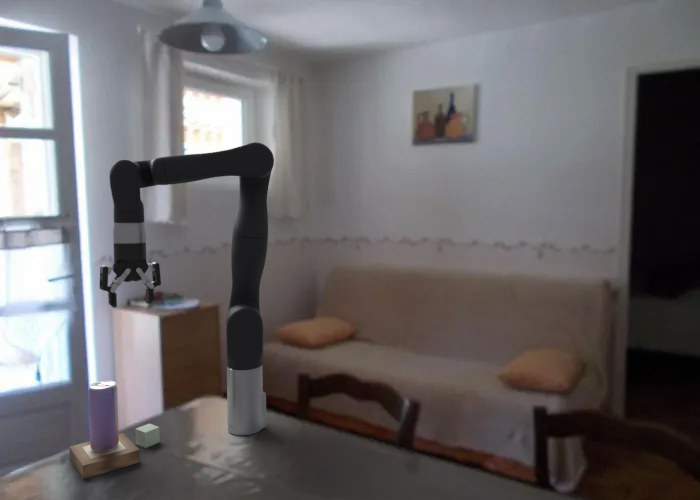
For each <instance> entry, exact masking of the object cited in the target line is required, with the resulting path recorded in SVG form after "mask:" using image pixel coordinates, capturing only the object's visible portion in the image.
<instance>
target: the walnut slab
mask: <svg viewBox="0 0 700 500" xmlns="http://www.w3.org/2000/svg"><path fill="white" fill-rule="evenodd" d="M118 436H119V443H118V445H117V447H116V448H115V449H113V450H111V451H107V452H94V451H93V450H92V449H91V447H90V440H89V441H86V442H82V443H79V444H75V445H70V446H69V449H68V450H69V451H68V452H69V460H70V462H71V463H72V464H73V466H74V467H75V469H76V470H77V472H78V474H79V475H80V476H81V478H82V479H83V480H85V479H86V480H87V479H89V478H92V477H95V476H99V475H102V474H105V473H108V472H112V471H115V470H118V469H119V470H120V469H122V468H126V467H129V466H132V465H135V464H138V463H140V462H141V455H140V454H141V453H140V449H139V448H138V446H136V444H134V443H133V442H132V440H131V439H129V437H127V435H126V434H125V433H123V432H121V433H120V432H119V433H118Z"/></svg>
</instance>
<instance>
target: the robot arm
mask: <svg viewBox="0 0 700 500" xmlns="http://www.w3.org/2000/svg"><path fill="white" fill-rule="evenodd" d="M274 164H275V158H274V153H273V151H271V149H270V148H269V147H268V146H267V145H266V144H264V143H261V142H254V141H253V142H250V143H246V144H244V145H240V146H237V147H233V148H230V149H229V148H228V149H226V150H220V151H213V152H212V151H211V152H204V153H203V152H202V153H190V154H188V153H187V154H178V155H176V154H175V155H168V156H166V155H165V156H160V157H159V156H158V157H155V158H153V159H150V160H149V159H148V160H137V161H136V160H134V161H133V160H130V159H124V158H123V159H119V160H117V161H115V162H114V163H113V164H111V167H110V170H109V186H110V191H111V197H112V202H113V228H112V229H113V230H112V231H113V233H112V234H113V235H112V237H113V238H112V241H113V265H101V266H100V267H99V289H100V290H101V291H104V292H107V294H108V295H107V296H108V297H107V298H108V305H110V306H111V308H113V309H114V308H117V307H118V305H117V304H118V301H117V300H118V299H117V297H118V295H117V292H116V291H117V290H118V288H119V287H120V286H121V285H122V284H123V282H125V283H131V282H132V281H133V282H139V281H140V282H142V284H143V285H144V286H145V302H146V304H148V305H149V304H152V303H153V301H154V298H155V297H154V294H155V293H154V292H155V291H154V290H155V288H156V287H159V286H161V284H162V280H161V279H162V277H161V269H160V267H161V265H160V263H159V262H155V261H153V262H151V263H148V262H147V231H146V225H145V208H144V207H145V206H144V202H143V201H142V199H141V189H144V188H150V187H151V188H152V187H156V186H170V185H179V184H185V183H186V184H187V183H194V182H197V181H202V180H207V179H212V178H213V179H214V178H219V177H220V178H222V177H239V178H238V179H239V182H238V183H239V188H238V189H239V195H238V202H237V207H236V210H235V216H234V220H233V227H232V234H231V235H232V236H231V248H230V249H231V250H230V254H231V255H230V258H231V261H230V266H231V282H232V283H231V291H230V299H229V304H228V309H227V313H226V319H225V325H226V330H225V331H226V332H225V333H226V389H227V391H226V397H227V398H226V399H227V401H226V402H227V405H226V406H227V431H228V433H230V434H231V435H235V436H250V435H253V434H257V433H259V432H261V430H263V429H264V428H266V427H267V394H266V392H265V391H264V390H263V389H264V388H263V386H264V385H263V384H264V381H263V378H264V377H263V358H264V357H263V355H264V321H263V319H262V316H261V311H260V309H261V308H260V287H261V282H262V281H261V280H262V276H263V273H264V268H265V265H266V261H267V260H266V259H267V253H268V242H269V241H268V240H269V215H268V213H269V212H268V191H269V186H270V181H271V180H270V179H271V175H272V171H273V168H274ZM148 270H149V271H150V272H151V275H152V281H151V280H150V278H149V277H148V276H147V275H146V272H147V271H148ZM112 271H113V273H114V274H115V276H114V278H113V279H112V281H111V283H110V284H109V275H111V273H112Z"/></svg>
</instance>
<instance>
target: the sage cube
mask: <svg viewBox="0 0 700 500" xmlns="http://www.w3.org/2000/svg"><path fill="white" fill-rule="evenodd" d="M134 430H135V432H134V433H135V445H137V446H138V447H139V446H140V447H141V448H144V449H147V448H149V447H152V446H154V445H157V444H159V443H160V442H161V440H160V426H157V425H155V424H152V423H147V424H144V425H141V426H139V427H136V428H135V429H134Z"/></svg>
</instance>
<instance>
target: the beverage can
mask: <svg viewBox="0 0 700 500" xmlns="http://www.w3.org/2000/svg"><path fill="white" fill-rule="evenodd" d="M87 392H88V413H89V416H88V417H89V418H88V419H89V441H90V447H91V449H92V450H93V451H94V452H107V451H111V450H113V449H115V448H116V447H117V445H118V443H119V436H118V434H119V406H118V404H119V402H118V387H117V382H116V381H114V380H100V381H95V382H93V383H91V384H89V386H88V391H87Z"/></svg>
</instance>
